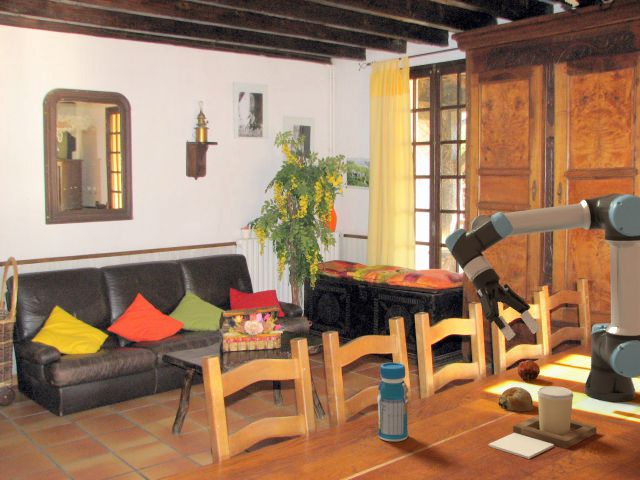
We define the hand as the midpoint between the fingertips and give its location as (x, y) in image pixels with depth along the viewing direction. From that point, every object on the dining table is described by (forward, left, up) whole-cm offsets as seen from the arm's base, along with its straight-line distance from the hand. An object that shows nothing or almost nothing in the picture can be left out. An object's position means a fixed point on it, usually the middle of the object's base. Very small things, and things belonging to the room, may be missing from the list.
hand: (524, 334), depth 208 cm
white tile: (+15, +9, -26) cm, 31 cm away
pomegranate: (-40, -23, -26) cm, 53 cm away
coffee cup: (0, +10, -26) cm, 28 cm away
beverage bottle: (+34, -19, -26) cm, 47 cm away
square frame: (0, +10, -26) cm, 28 cm away
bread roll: (-12, -10, -26) cm, 31 cm away
